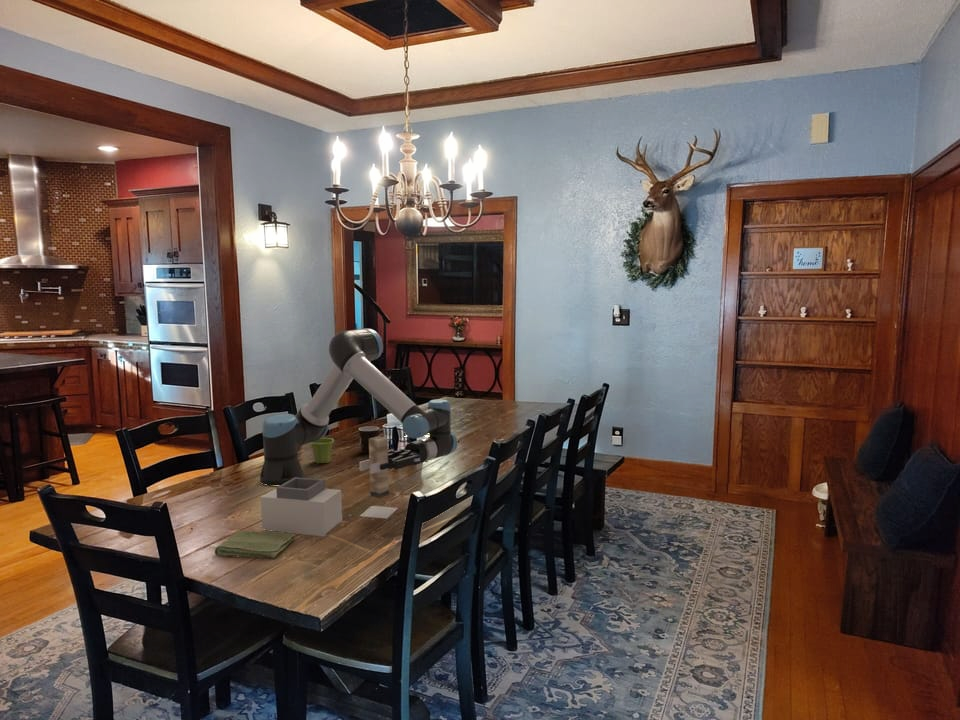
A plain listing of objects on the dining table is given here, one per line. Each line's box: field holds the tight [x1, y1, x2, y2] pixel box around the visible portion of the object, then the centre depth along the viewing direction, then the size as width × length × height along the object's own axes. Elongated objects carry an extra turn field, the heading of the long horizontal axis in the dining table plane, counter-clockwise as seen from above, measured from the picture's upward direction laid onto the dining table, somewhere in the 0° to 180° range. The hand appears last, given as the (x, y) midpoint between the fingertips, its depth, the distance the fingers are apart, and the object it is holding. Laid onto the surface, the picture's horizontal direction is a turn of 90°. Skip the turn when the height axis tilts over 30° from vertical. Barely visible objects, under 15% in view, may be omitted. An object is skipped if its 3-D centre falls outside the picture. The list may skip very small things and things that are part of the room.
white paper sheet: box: [359, 505, 399, 520], centre depth 193 cm, size 9×9×1 cm
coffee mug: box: [358, 425, 380, 454], centre depth 266 cm, size 12×9×10 cm
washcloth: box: [214, 530, 295, 559], centre depth 169 cm, size 13×18×3 cm
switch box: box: [260, 477, 343, 537], centre depth 183 cm, size 20×11×13 cm, turn 76°
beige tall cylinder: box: [368, 436, 390, 499], centre depth 191 cm, size 4×4×18 cm
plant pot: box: [310, 437, 335, 464], centre depth 250 cm, size 9×9×9 cm
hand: (365, 467), depth 187 cm, fingers closed on beige tall cylinder, 4 cm apart
